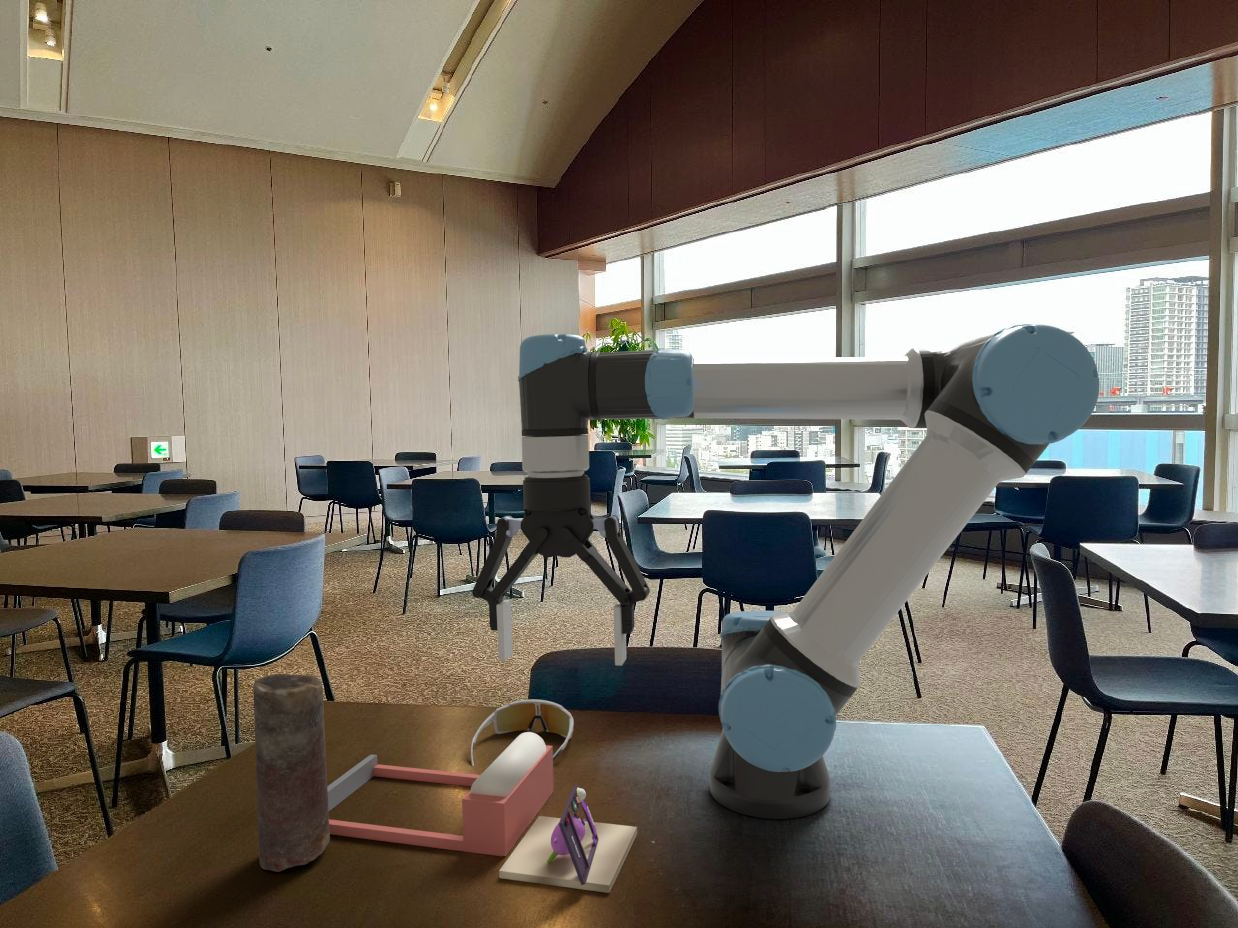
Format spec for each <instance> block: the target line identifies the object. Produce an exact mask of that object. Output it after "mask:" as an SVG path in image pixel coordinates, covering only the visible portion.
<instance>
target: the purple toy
mask: <svg viewBox="0 0 1238 928" xmlns="http://www.w3.org/2000/svg"><path fill="white" fill-rule="evenodd" d="M586 797H587V793H586V791H585V789H584V788H580V786H579V784H578V783H576V784H574V785H573V788H572V790H571V793H570V795H569V798H568V800H567V803H566V805H565V807H564V810H563V812H562V814H561V817H560V818H561V819H560V822H559V823H558V824H557V825H556V827H555V829H554V831H553V833H552V836H551V846H552V848H553V853H552V854H551V856H549V859H548V860H547V862H548V863H549V864H550V863H551V862H552V861H553V859H554V858H555V857H556V856H557V855H568V854H570V856H571V859H572V862H573V864H574V867H575V870H576V872H577V875H578V878H579V880H580V883H581V885H584V884H586V880H587V877H588V874H589V870H590V867H591V864H592V860H593V857H594V854H595V850H596V847H597V844H598V840H599V839H598V836H597V833H596V828H595V824H594V822H595V821H594V819H593V817H592V814H591V811H590V809H589V805H587V804H586V800H585V799H586ZM580 805H581V808H582V810H583V813H584V816H585V818H584V819H583V818H581V817H580V816H579V815H578V809H579V808H580ZM570 808H571V810H572V811H573V815H572V814H571V813H570ZM584 821H588V824H589V827H590V830H591V832H592V835H593V836H592V839H593V844H592V847H591V850H590V853H589V856H588V860H587V858H586V855H585V852H584V850H583V847H582V844H581V841H582V839H583V838H584V836H585V833H586V831H585V830H586V829H587V828H585V822H584Z"/></svg>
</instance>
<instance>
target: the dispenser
mask: <svg viewBox="0 0 1238 928" xmlns="http://www.w3.org/2000/svg"><path fill="white" fill-rule="evenodd" d="M553 748H554V746H553V745H546V743H545V741H544V739H543V738H542V737H541V736H540V735H538V734H537V733H535V732H532V731H527V732H526V731H525V732H522V733H520V734H519V735H517V736H516V738H515V739H514V740H513V741H512V742H511V743H510V744H509V745H508V746H507V747H506V748H505V749H504V750H503V752H501V754H499V755H498V756H497V757H496V758H495V760H493V762H492V763H490V765H489V766H488V767H487V768H486V769H485V770H484V771H483V772H482V773H481V774H478V773H477V774H476V773H466V772H456V771H455V772H454V771H445V770H439V769H438V770H436V769H427V768H419V767H418V768H417V767H407V766H406V767H405V766H397V765H396V766H395V765H390V764H389V765H387V764H378V754H369V755H368V756H366V757H365V758H364V759H362V760H361V761H359V762H358V763H357V764H356V765H354V766H353V767H352V768H350V769H349V770H347V771H346V772H345V773H344V774H342V775H341V776H339V777H338V778H337V779H335V780H334V781H333V782H331V783H330V784H328V785H327V789H328V808H329V812H330V811H332V810H333V809H334V808H336V807H337V806H338V805H340V803H342V802H343V801H344V800H345V799H346V798H348V797H350V795H352V794H353V793H354V792H355V791H357V790H358V789H360V788H361V787H362V786H364V785H365V784H366V783H368V781H370V780H371V779H372V778H373V777H379V778H381V777H382V778H390V779H397V780H406V781H407V780H409V781H417V782H427V783H428V782H429V783H436V784H446V785H454V786H455V785H456V786H465V787H470V791H468V792H467V793H466V794H465V795H464V796H463V798H462V799H461V802H462V803H461V805H462V806H461V807H462V810H461V811H462V832H463V833H462V835H459V834H452V833H451V834H450V833H442V832H434V831H428V830H427V831H425V830H417V829H409V828H404V827H403V828H402V827H394V826H387V825H386V826H385V825H378V824H370V823H369V824H368V823H363V822H362V823H361V822H354V821H353V822H352V821H345V820H337V819H330V818H329V831H330V835H334V836H335V835H336V836H341V837H342V836H343V837H349V838H350V837H351V838H357V839H365V840H374V841H381V842H389V843H395V844H396V843H397V844H403V845H410V846H411V845H412V846H419V847H427V848H435V849H443V850H449V851H458V852H465V853H473V854H482V855H488V856H489V855H490V856H496V857H497V856H498V857H503V856H505V857H504V858H506V857H507V855H509V853H510V852H511V850H512V849H513V848H514V846H515V844H516V843H518V841H519V839H521V836H522V835H523V834H524V833H525V831H526V829H527V828H528V827H529V826H530V824H531V823H532V821H533V820H534V819H535V818H536V816H537V815H538V813H539V812H540V810H541V809H542V808H543V806H544V805H545V804H546V803H547V801H548V799H550V797H551V796H552V794H553V793H554V787H555V786H554V785H555V784H554V761H553V755H554V749H553Z"/></svg>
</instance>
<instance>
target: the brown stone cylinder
mask: <svg viewBox="0 0 1238 928" xmlns="http://www.w3.org/2000/svg"><path fill="white" fill-rule="evenodd" d="M252 690H253V692H252V693H253V715H254V716H253V717H254V718H253V719H254V745H255V765H256V766H255V768H256V770H255V771H256V772H255V773H256V774H255V775H256V798H257V800H256V801H257V803H256V804H257V807H256V808H257V809H256V811H257V835H258V856H259V857H258V858H259V867H261V869H262V870H266V871H272V872H277V873H279V872H282V871H284V870H286V869H289V868H293V867H298V866H303V865H307V864H309V863H310V862H313V861H314V860H315V859H317V858H318V856H320V855H321V854H323V853H324V852H325V850H326V848H327V846H328V845H329V843H330V840H331V837H330V835H331V834H330V831H329V819H330V817H329V815H330V813H329V812H330V811H329V808H328V789H327V786H328V777H327V776H328V775H327V759H326V758H327V754H326V753H327V752H326V736H325V735H326V734H325V710H324V690H323V682H322V681H321V680H320V679H319V677H317V676H315V675H309V674H307V675H305V674H287V673H278V674H269V675H268V676H263V677H260V678H259V679H258V678H257V679H255V681H254V683H253V686H252Z"/></svg>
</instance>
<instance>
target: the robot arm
mask: <svg viewBox="0 0 1238 928" xmlns="http://www.w3.org/2000/svg"><path fill="white" fill-rule="evenodd" d="M518 368H519V369H518V370H519V371H518V372H519V374H518V376H517V382H518V388H519V405H520V418H521V419H520V420H521V421H520V422H521V424H520V425H521V462H522V463H521V466H522V472H525V474H527V476H526V477H525V478H524V479H523V480H522V489H523V490H522V491H523V495H522V496H523V511H524V512H523V514H524V515H523V517H522V519H520V518H513V517H512V515H505V516H503V517H501V518H500V517H499V518H498V520H497V521H496V529H495V531H496V532H495V538H494V541H493V543H492V546H491V547H490V549H489V551H488V555H487V557H486V559H485V561H484V563H483V566H482V568H481V570H480V573H479V574H478V575H479V576H478V577H477V579H476V582H475V583H474V585H473V589H472V592H471V594H472V596H473V597H474V598H475V599H482V600H484V601H486V602H487V604H488V613H489V614H488V615H489V616H488V617H489V628H490V630H491V631H493V632H494V631H496V632H497V654H498V656H497V658H498V662H503V663H504V662H506V661H507V660H508V659H510V658H511V657H512V656H513V654H514V653H513V650H514V649H513V626H512V604H511V603H512V602H511V600H512V599H504V598H505V597H506V595H507V593H508V592H509V591H510V590H511V588H512V587H513V586H514V585H515V584H516V582H517V581H518V580H519V578H520V577H521V576H522V575H523V573H525V571H526V570H527V568H528V567H529V566H530V564H531V563H532V562H533V560H535V558H536V557H537V556H538V555H540V556H542V558H553V557H560V558H571V557H574V556H575V555H577V557H578V558H579V560H581V561H582V562H583V563H585V564H586V566H588V567H589V569H590V570H591V571H592V573H594V575H595V576H596V577H597V578H598V579H599V580H600V582H602V584H603V585H604V586H605V588H607V590H608V591H609V592H610V593H611V595H612V596H613V597H614V599H616V600H617V603H615V605H614V606H613V608H612V609H613V635H614V636H613V638H614V639H613V641H614V665H615V666H623V665H624V663H625V661H626V660H627V635H631V634H632V633H633V631H634V629H635V603H638V602H642V601H645V600H646V599H647V597H648V596H649V595H650V593H651V590H650V587H649V585H648V583H647V581H646V579H645V577H644V576H643V573H642V571H641V570H640V567H639V566H638V564H637V562H636V560H635V558H634V556H633V555H632V552H631V551H630V549H629V547H628V545H627V543H626V541H625V539H624V537H623V535H622V532H621V531H622V530H621V525H620V519H619V517H618V516H617V515H616V514H613V515H610V516H608V517H603V518H595V519H594V517H593V515H592V509H591V508H592V507H591V505H592V503H591V480H590V479H591V478H590V477H589V476H588V475H587V474H585V472H586V471H588V470H589V469H590V451H589V450H590V448H589V444H590V442H589V428H588V427H589V426H588V425H589V421H590V420H591V421H592V420H594V421H602V420H645V419H647V420H663V421H664V420H670V419H682V420H683V419H737V420H738V419H743V420H744V419H747V420H748V419H749V420H750V419H751V420H752V419H756V420H757V419H759V420H760V419H762V420H765V419H766V420H767V419H768V420H771V419H772V420H869V421H870V420H874V421H875V420H887V421H890V420H891V421H892V420H895V421H898V420H899V421H902V423H904V425H906V427H908V428H909V429H926V436H924V438H923V440H922V441H921V442H920V444H919V445H918V446H917V448H916V449H915V450H914V451H913V453H912V454H911V456H910V457H909V458H908V459H907V461H906V462H905V463H904V465H903V466H902V467H901V469H900V470H899V471H898V473H897V474H896V475H895V476H894V478H893V479H892V481H891V482H889V484H888V486H886V488H885V489H884V491H883V492H882V494H881V495H880V496H879V497H878V499H877V500H876V502H875V503H874V504H873V506H871V508H870V509H869V511H868V512H867V513H866V514H865V516H864V518H862V519H861V521H860V523H859V524H858V525H857V526H856V528H855V529H854V530H853V532H852V533H851V535H849V537H848V538H847V539H846V541H845V542H844V544H843V545H842V546H841V548H840V549H839V550H838V551H837V552H836V554H835V556H834V557H833V558H832V559H831V561H830V562H829V563H828V565H827V566H826V567H825V569H824V570H823V571H822V572H821V573H820V575H819V577H818V578H817V579H816V580H815V582H814V583H813V584H812V586H811V587H810V588H809V590H808V591H807V592H806V593H805V595H804V596H803V597H802V598H801V600H800V602H799V603H798V604H797V605H796V607H795V608H794V609H793V610H792V611H784V610H783V611H781V610H743V611H742V610H741V611H736V612H731V613H727V614H726V615H725V616H724V617H723V618H722V622H721V631H720V634H719V637H720V639H721V679H720V680H721V681H720V683H721V684H720V697H719V701H718V715H719V720H720V723H721V726H722V729H721V730H722V731H721V734H720V737H719V740H718V744H717V747H716V750H715V753H714V757H713V759H712V763H711V765H710V768H709V791H710V794H711V796H712V797H713V799H714V800H715V801H716V802H717V803H719V804H720V805H722V806H723V807H725V808H726V809H729V810H731V811H733V812H736V813H739V814H742V815H745V816H750V817H754V818H761V819H771V820H786V819H796V818H797V819H798V818H801V817H806V816H809V815H813V814H814V813H818V812H819V811H820V810H823V808H825V807H826V806H827V805H828V803H829V802H830V799H831V776H830V774H829V771H828V768H827V765H826V761H825V759H824V755H825V753H826V752H827V751H828V749H829V748H830V746H831V744H832V742H833V739H834V736H835V732H836V730H837V716H838V715H839V713H840V712H841V710H842V709H843V708H844V706H846V704H847V703H848V701H849V700H850V699H851V698H852V696H853V695H854V694H855V693H856V691H857V689H859V688H860V686H861V684H862V681H861V675H860V667H859V665H860V661H861V660H862V659H863V657H865V655H866V654H867V652H868V651H869V650H870V649H871V647H872V646H873V645H874V643H876V641H877V639H878V638H879V637H880V636H881V634H882V633H883V632H884V631H885V629H886V628H887V626H888V625H889V624H890V623H891V621H892V620H893V619H894V618H895V616H896V615H897V614H898V613H899V611H900V610H901V609H902V608H903V606H904V605H905V603H907V601H908V599H909V598H910V597H911V596H912V595H913V593H914V592H915V591H916V590H917V588H918V587H919V585H920V584H921V583H922V582H923V580H925V578H926V577H927V576H928V574H929V573H930V572H931V571H932V569H933V568H934V566H935V565H936V564H937V563H938V561H939V560H940V559H941V558H942V556H943V555H944V554H945V553H946V551H947V550H948V549H949V548H950V546H951V545H952V544H953V542H954V541H955V540H956V538H957V537H958V536H959V535H960V533H961V532H962V531H963V529H964V528H965V527H966V525H968V523H969V522H970V520H972V518H973V517H974V516H975V514H976V513H977V512H978V510H979V509H980V508H981V506H982V505H983V504H984V503H985V501H986V500H987V498H988V497H989V496H990V495H991V494H992V492H993V491H994V489H996V487H997V485H998V484H999V483H1001V482H1004V481H1009V480H1013V479H1014V480H1015V479H1021V478H1024V477H1025V476H1026V475H1027V473H1029V471H1030V469H1031V468H1032V467H1033V465H1034V464H1035V463H1036V462H1037V460H1038V459H1039V458H1040V457H1041V455H1043V453H1044V452H1045V450H1046V449H1047V447H1049V445H1050V444H1054V443H1057V442H1060V441H1062V440H1064V439H1066V438H1067V437H1069V436H1071V435H1073V434H1074V433H1075V432H1077V431H1078V430H1079V429H1081V428H1082V427H1083V426H1084V425H1085V423H1087V421H1088V420H1089V419H1090V417H1091V415H1092V414H1093V412H1094V411H1095V408H1096V406H1097V403H1098V399H1099V395H1100V378H1099V374H1098V368H1097V363H1096V362H1095V360H1094V357H1093V356H1092V353H1090V351H1089V349H1088V348H1087V347H1086V346H1085V344H1083V342H1081V341H1080V340H1079V339H1078V338H1077V337H1075V336H1074V335H1073V334H1071V333H1069V332H1068V331H1066V330H1063V329H1061V328H1059V327H1055V326H1052V325H1048V324H1031V323H1024V324H1023V323H1021V324H1016V325H1011V326H1007V327H1005V328H1003V329H1001V330H999V331H997V332H995V333H992V334H989V335H984V336H981V337H979V338H978V337H977V338H975V339H972V340H969V341H965V342H960V343H957V344H952V345H945V346H939V347H929V348H928V347H927V348H924V347H923V348H922V347H921V348H920V347H919V348H918V347H917V348H911V349H909V350H908V351H907V352H906V353H905V354H904V355H903V356H863V357H862V356H861V357H860V356H858V357H857V356H856V357H855V356H853V357H852V356H851V357H850V356H849V357H848V356H846V357H844V356H843V357H839V356H838V357H837V356H836V357H727V358H726V357H720V358H719V357H714V358H709V357H708V358H706V357H705V358H701V357H700V358H698V357H697V358H694V357H693V355H692V354H691V352H690V351H688V350H686V349H669V348H657V349H646V350H627V351H611V352H595V351H588V348H587V347H586V340H585V338H584V337H582V336H580V335H578V334H569V333H567V334H566V333H564V334H563V333H561V334H557V333H555V334H554V333H553V334H552V333H551V334H550V333H549V334H537V335H532V336H529V337H526V338H525V339H524V340H522V342H521V343H520V345H519V367H518ZM519 530H521V532H522V533H523V535H524V537H525V538H526V539H527V540H528V542H527V544H526V545H525V546H524V548H523V549H522V551H520V553H519V555H518V557H517V558H516V559H515V560H514V561H513V563H512V565H511V566H510V567H509V568H508V569H507V571H506V572H505V573H504V574H503V576H502V577H501V578H500V580H499V581H498V582H497V583H496V585H495V586H494V587H493V586H492V585H493V583H494V580H495V578H496V577H497V574H498V571H499V569H500V567H501V566H502V562H503V561H504V559H505V556H506V553H507V551H508V549H509V547H510V545H511V542H512V540H513V537H515V536H517V535H518V533H519ZM595 530H597V531H598V532H599V534H600V536H601V537H602V538H605V539H606V541H607V544H608V546H609V548H610V550H611V552H612V554H613V556H614V558H615V560H616V562H617V564H618V566H619V567H620V569H621V571H622V573H623V576H624V578H625V579H626V581H627V583H628V585H629V586H630V588H631V589H630V588H629V587H628V585H627V584H626V583H625V582H624V581H623V579H622V578H621V576H619V575H618V573H617V572H616V571H615V570H614V569H613V567H612V566H610V564H609V563H608V562H607V560H606V559H605V558H604V557H603V556H602V555H601V554H600V553H599V550H598V549H597V547H596V546H595V544H594V543H592V541H591V540H590V539H589V538H591V535H592V534H593V533H594V531H595Z"/></svg>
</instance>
